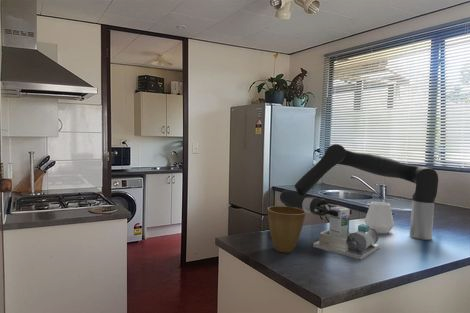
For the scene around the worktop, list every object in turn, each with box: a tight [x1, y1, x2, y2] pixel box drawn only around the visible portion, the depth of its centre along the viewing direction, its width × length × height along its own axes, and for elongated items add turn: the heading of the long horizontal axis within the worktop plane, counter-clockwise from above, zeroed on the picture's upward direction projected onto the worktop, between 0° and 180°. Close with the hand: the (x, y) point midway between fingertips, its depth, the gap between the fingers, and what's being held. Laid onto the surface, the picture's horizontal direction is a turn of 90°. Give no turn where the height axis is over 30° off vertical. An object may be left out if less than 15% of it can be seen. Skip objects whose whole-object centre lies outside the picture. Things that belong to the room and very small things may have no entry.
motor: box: [312, 223, 381, 260], centre depth 143 cm, size 20×20×10 cm
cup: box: [364, 201, 395, 234], centre depth 172 cm, size 13×13×14 cm
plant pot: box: [267, 205, 307, 254], centre depth 137 cm, size 15×15×16 cm
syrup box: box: [328, 206, 351, 239], centre depth 145 cm, size 6×6×14 cm
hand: (344, 213), depth 143 cm, fingers open, 8 cm apart
